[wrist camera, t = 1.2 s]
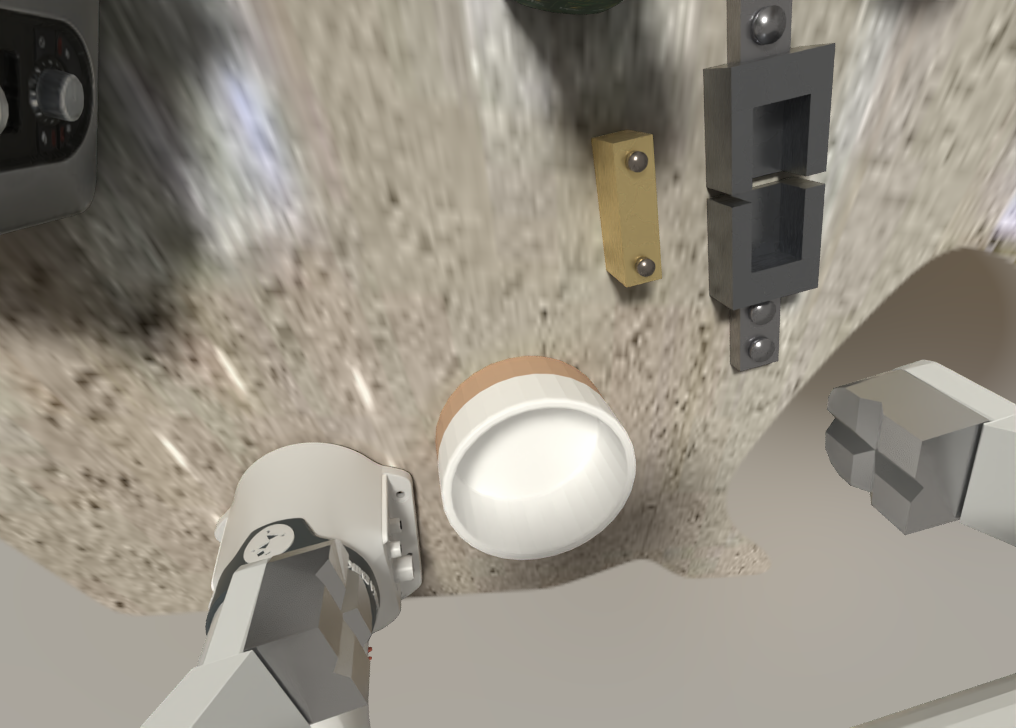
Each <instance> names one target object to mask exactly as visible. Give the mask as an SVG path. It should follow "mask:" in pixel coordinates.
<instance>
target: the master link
mask: <svg viewBox="0 0 1016 728" xmlns="http://www.w3.org/2000/svg"><path fill="white" fill-rule="evenodd" d="M591 141H592V149H593V158H594V167H595V176H596V184H597V193H598V202H599V211H600V219H601V228H602V237H603V246H604V254H605V263H606V270H607V271H608V272H609V273H610V274H612V275H613V276H614V277H615V278H616V279H617V280H619V281H620V282H621V283H622V284H623V285H624V286H625V287H631V286H635V285H639V284H642V283H646V282H650V281H654V280H658V279H662V271H661V255H660V240H659V224H658V209H657V193H656V178H655V162H654V147H653V134H648V133H643V132H637V131H632V130H624V131H620V132H615V133H611V134H607V135H603V136H598V137H594V138H591Z"/></svg>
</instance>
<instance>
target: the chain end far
mask: <svg viewBox="0 0 1016 728" xmlns="http://www.w3.org/2000/svg"><path fill="white" fill-rule="evenodd" d="M824 193H825V184H823V183H819V182H814V181H810V180H805V179H801V178H796V177H791V178H787V179H783V180H779V181H775V182H771V183H767V184H763V185H759V186H755V187H752V190H750V191H746V192H742V193H738V194H734V195H730V194H724V195H720V196H716V197H712V198H708V199H707V219H708V256H709V292H710V296H711V297H713V298H715V299H716V300H718V301H719V302H721V303H722V304H724V305H725V306H727V307H728V308H730V364H732V365H733V366H734V367H735V368H736V369H738V370H739V371H744V370H747V369H751V368H755V367H758V366H762V365H765V364H769V363H772V362H776V361H778V353H779V327H780V301H781V297H784V296H788V295H792V294H795V293H799V292H803V291H807V290H810V289H814V288H818V276H819V262H820V248H821V234H822V221H823V207H824Z"/></svg>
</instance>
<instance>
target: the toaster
mask: <svg viewBox="0 0 1016 728" xmlns="http://www.w3.org/2000/svg"><path fill="white" fill-rule="evenodd" d="M98 39H99V0H0V235H1V234H5V233H9V232H12V231H16V230H20V229H24V228H27V227H31V226H35V225H39V224H42V223H46V222H50V221H54V220H58V219H62V218H66V217H69V216H73V215H76V214H79V213H82V212H84V211H85V210H86V209H87V208H88V207H89V206H90V204H91V202H92V200H93V197H94V192H95V186H96V168H97V128H98V126H97V111H98V99H97V95H98V88H97V79H98Z"/></svg>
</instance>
